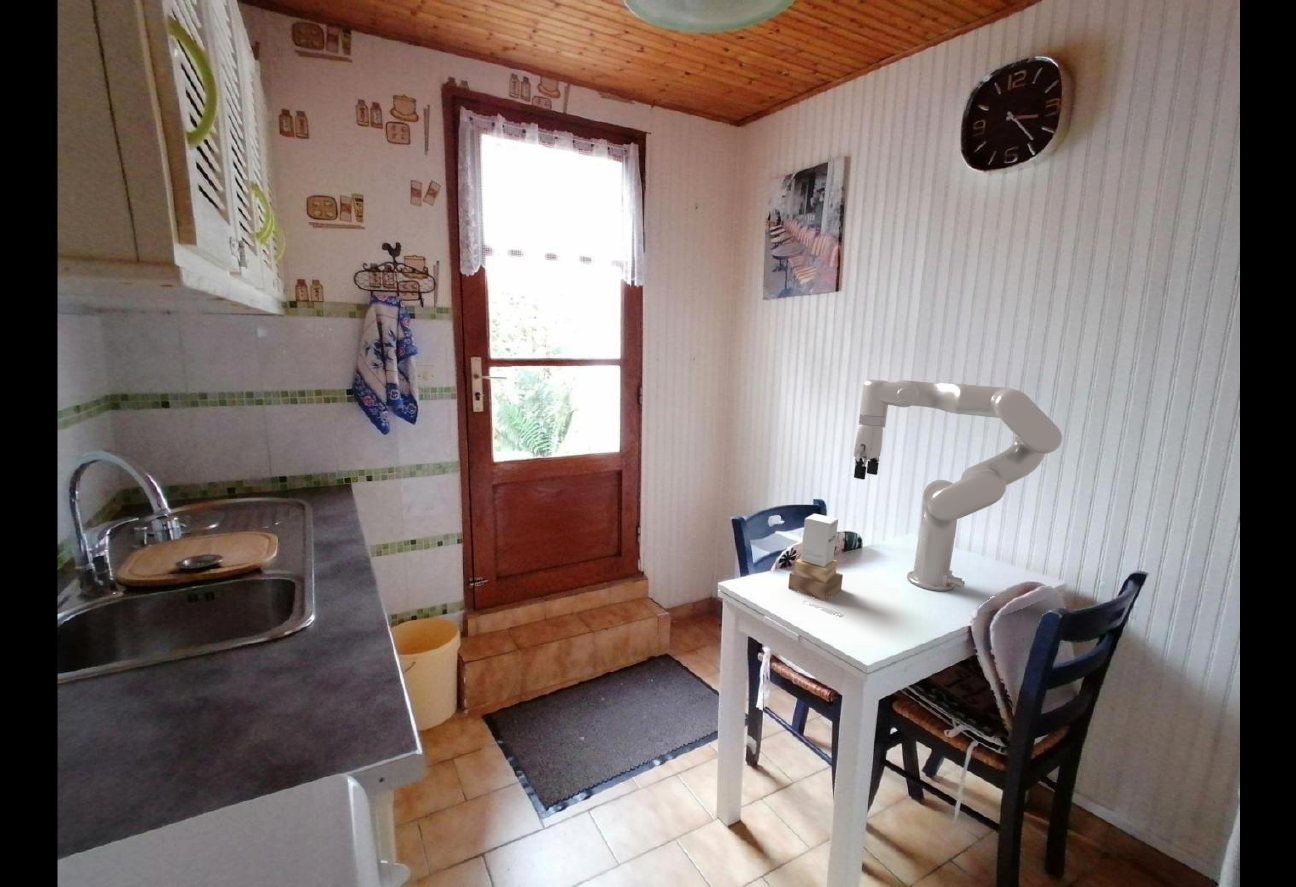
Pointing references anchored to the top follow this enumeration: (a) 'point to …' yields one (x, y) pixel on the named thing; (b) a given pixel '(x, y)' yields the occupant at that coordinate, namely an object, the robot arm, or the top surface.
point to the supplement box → (819, 539)
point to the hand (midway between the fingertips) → (865, 476)
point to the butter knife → (827, 610)
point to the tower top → (815, 570)
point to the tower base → (816, 586)
